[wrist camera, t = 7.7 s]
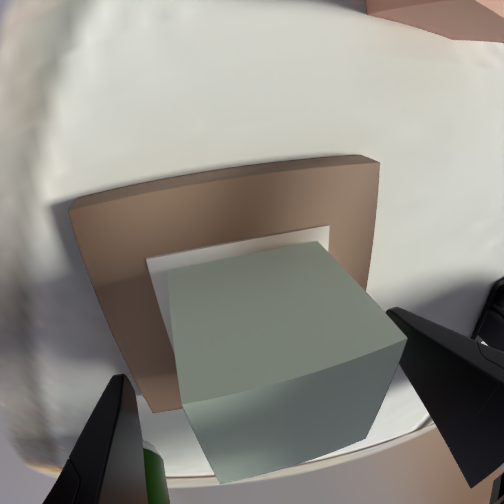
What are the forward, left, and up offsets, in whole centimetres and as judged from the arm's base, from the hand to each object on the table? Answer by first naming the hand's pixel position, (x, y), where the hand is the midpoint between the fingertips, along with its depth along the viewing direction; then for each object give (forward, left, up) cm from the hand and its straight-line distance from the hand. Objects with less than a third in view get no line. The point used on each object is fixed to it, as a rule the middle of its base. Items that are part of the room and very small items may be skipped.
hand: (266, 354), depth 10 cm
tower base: (0, 0, -3) cm, 3 cm away
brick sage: (0, 0, -2) cm, 2 cm away
